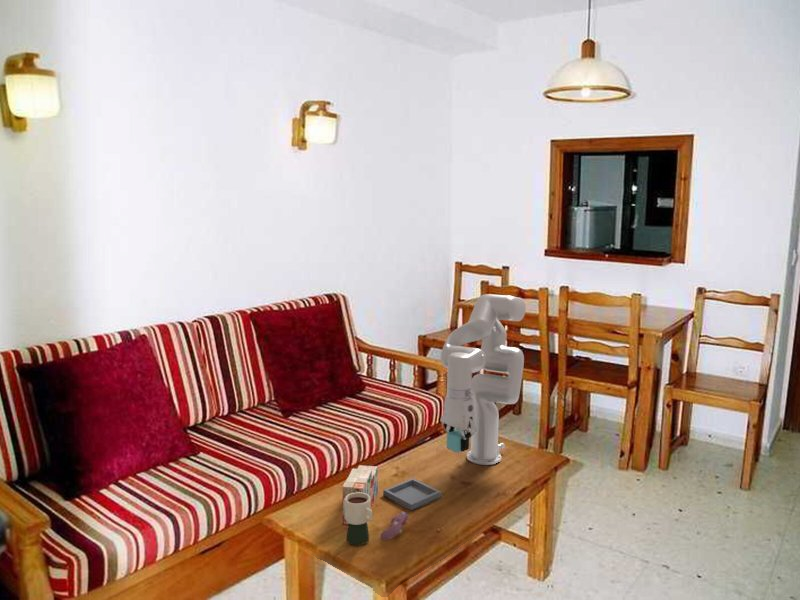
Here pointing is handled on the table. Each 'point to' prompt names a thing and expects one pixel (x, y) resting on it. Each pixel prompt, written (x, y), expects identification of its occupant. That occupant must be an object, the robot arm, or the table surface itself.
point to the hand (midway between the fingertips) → (457, 446)
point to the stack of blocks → (361, 483)
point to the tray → (412, 494)
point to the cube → (454, 440)
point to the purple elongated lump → (395, 526)
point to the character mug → (357, 517)
